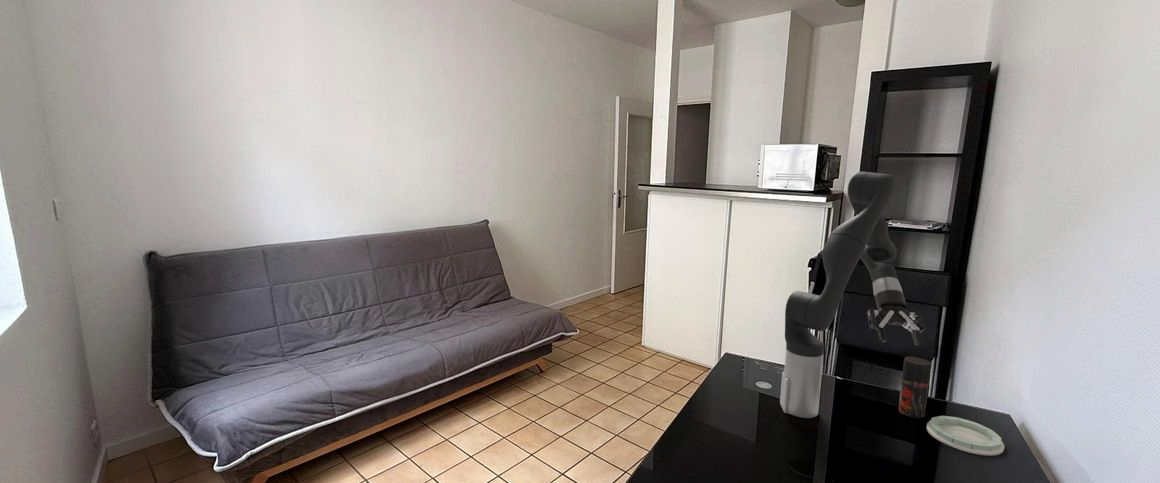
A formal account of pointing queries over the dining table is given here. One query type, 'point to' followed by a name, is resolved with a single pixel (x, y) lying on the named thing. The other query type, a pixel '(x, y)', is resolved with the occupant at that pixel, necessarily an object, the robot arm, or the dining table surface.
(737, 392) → the dining table surface
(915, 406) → the deodorant
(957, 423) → the round plate
